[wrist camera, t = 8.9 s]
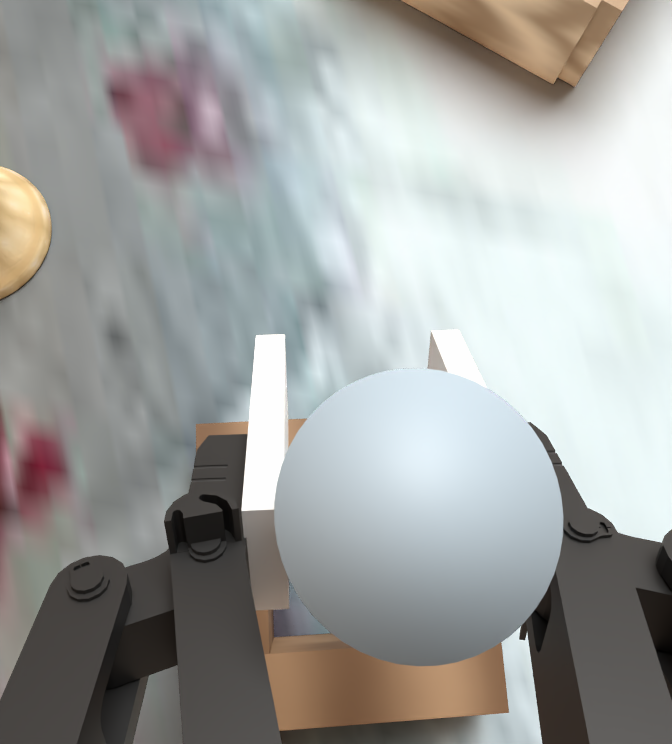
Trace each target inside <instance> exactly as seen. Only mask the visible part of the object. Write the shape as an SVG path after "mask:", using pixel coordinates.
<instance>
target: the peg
mask: <svg viewBox="0 0 672 744" xmlns="http://www.w3.org/2000/svg"><path fill="white" fill-rule="evenodd" d="M274 524H275V532H276V540H277V545H278V549H279V552H280V556H281V560H282V563H283V565H284V568H285V570H286V573H287V575H288V578H289V580H290V582H291V584H292V586H293V587H294V589H295V591H296V593H297V594H298V596H299V598H300V599H301V601H302V602H303V603H304V605H305V606H306V607H307V609H308V610H309V611H310V613H311V614H312V615H313V616H314V617H315V618H316V619H317V620H318V621H319V622H320V623H321V624H322V625H323V626H324V627H325V628H326V629H327V630H328V631H329V632H331V633H332V634H333V635H335V636H336V637H337V638H338V639H340V640H341V641H342V642H344V643H346V644H348V645H349V646H351V647H353V648H354V649H356V650H358V651H360V652H362V653H365V654H367V655H369V656H372V657H374V658H377V659H380V660H384V661H388V662H391V663H395V664H401V665H410V666H439V665H444V664H450V663H456V662H459V661H462V660H465V659H468V658H471V657H475V656H477V655H479V654H481V653H483V652H485V651H487V650H489V649H491V648H493V647H495V646H496V645H498V644H499V643H500V642H502V641H503V640H505V639H506V638H508V637H509V636H510V635H511V634H513V633H514V632H515V631H516V630H517V629H518V628H519V627H520V626H521V625H522V624H523V623H524V622H525V621H526V620H527V619H528V617H529V616H530V615H531V614H532V613H533V611H534V610H535V609H536V608H537V606H538V604H539V603H540V601H541V599H542V598H543V596H544V595H545V593H546V591H547V589H548V587H549V585H550V582H551V580H552V578H553V576H554V573H555V570H556V566H557V563H558V559H559V556H560V551H561V544H562V538H563V507H562V497H561V493H560V488H559V484H558V479H557V476H556V473H555V471H554V468H553V465H552V462H551V460H550V458H549V456H548V454H547V452H546V450H545V448H544V446H543V444H542V442H541V441H540V439H539V438H538V436H537V435H536V433H535V432H534V430H533V429H532V427H531V426H530V425H529V424H528V423H527V422H526V420H525V419H524V418H523V417H522V416H521V415H520V413H519V412H517V411H516V410H515V409H514V408H513V407H512V406H511V405H510V404H509V403H508V402H507V401H505V400H504V399H503V398H501V397H500V396H498V395H497V394H495V393H494V392H493V391H491V390H490V389H488V388H486V387H484V386H482V385H480V384H478V383H477V382H475V381H472V380H470V379H467V378H465V377H462V376H459V375H456V374H452V373H448V372H445V371H441V370H433V369H424V368H403V369H396V370H389V371H384V372H380V373H377V374H373V375H369V376H367V377H364V378H362V379H360V380H357V381H355V382H353V383H351V384H349V385H347V386H346V387H344V388H342V389H340V390H339V391H337V392H336V393H334V394H333V395H332V396H331V397H329V398H328V399H327V400H325V401H324V402H323V403H322V404H321V405H320V406H319V407H318V408H317V409H316V410H315V411H314V412H313V413H312V414H311V415H310V416H309V417H308V419H307V420H306V421H305V422H304V424H303V425H302V426H301V428H300V429H299V430H298V432H297V434H296V436H295V437H294V439H293V441H292V443H291V444H290V446H289V448H288V451H287V453H286V455H285V458H284V460H283V463H282V466H281V469H280V473H279V477H278V481H277V486H276V493H275V501H274Z"/></svg>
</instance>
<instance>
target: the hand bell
mask: <svg viewBox="0 0 672 744" xmlns="http://www.w3.org/2000/svg"><path fill="white" fill-rule="evenodd" d="M50 240H51V218H50V213H49V209H48V207H47V204H46V202H45V200H44V198H43V196H42V195H41V193H40V192H39V191H38V190H37V188H36V187H35V186H34V185H33V184H32V183H31V182H29V181H28V180H27V179H26V178H25V177H23V176H21V175H20V174H18V173H16V172H14V171H12V170H10V169H7V168H4V167H1V166H0V299H2V298H4V297H6V296H8V295H10V294H12V293H13V292H15V291H16V290H18V289H19V288H20V287H22V286H23V285H24V284H25V283H26V282H27V281H28V280H29V279H30V278H31V277H32V276H33V275H34V274H35V273H36V271H37V270H38V269H39V268H40V266H41V264H42V262H43V260H44V258H45V256H46V254H47V252H48V249H49V245H50Z"/></svg>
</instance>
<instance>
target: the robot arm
mask: <svg viewBox="0 0 672 744" xmlns="http://www.w3.org/2000/svg"><path fill="white" fill-rule="evenodd" d="M428 369H433V370H441V371H445V372H448V373H452V374H456V375H459V376H462V377H465V378H467V379H470V380H472V381H475V382H477V383H478V384H480V385H482V386H484V387H486V385H485V383H484V381H483V379H482V377H481V375H480V373H479V371H478V368H477V366H476V364H475V362H474V360H473V358H472V356H471V354H470V352H469V350H468V348H467V346H466V343H465V341H464V339H463V337H462V335H461V333H460V331H459V330H431V337H430V348H429V359H428ZM486 388H487V387H486ZM527 423H528V424H529V425H530V426H531V427H532V429H533V430H534V432H535V433H536V435H537V436H538V438H539V439H540V441H541V442H542V444H543V446H544V448H545V450H546V452H547V454H548V456H549V458H550V460H551V462H552V465H553V468H554V471H555V473H556V476H557V479H558V484H559V488H560V493H561V497H562V507H563V538H562V544H561V551H560V556H559V559H558V563H557V566H556V570H555V573H554V576H553V578H552V580H551V582H550V585H549V587H548V589H547V591H546V593H545V595H544V596H543V598H542V599H541V601H540V603H539V604H538V606H537V608H536V609H535V610H534V611H533V613H532V614H531V615H530V616H529V617H528V619H527V620H526V621H525V622H524V623H523V624H522V625H521V629H520V637H519V639H520V640H525V637H526V633H527V632H528V640H529V647H530V654H531V662H532V669H533V677H534V684H535V691H536V699H537V706H538V714H539V721H540V728H541V736H542V743H543V744H672V530H670V531H669V532H668V533H667V534H666V535H665V536H664V539H663V541H662V543H660V542H655V541H650V540H645V539H640V538H635V537H631V536H627V535H624V534H620V533H618V532H617V531H616V529H615V527H614V526H613V524H612V523H611V522H610V521H609V520H608V519H606V518H605V517H604V516H603V515H601V514H599V513H597V512H595V511H593V510H591V509H588V508H587V507H586V505H585V503H584V501H583V499H582V498H581V496H580V494H579V492H578V490H577V489H576V487H575V485H574V483H573V482H572V480H571V478H570V476H569V474H568V473H567V471H566V469H565V467H564V466H562V462H561V460H560V458H559V457H558V455H557V453H555V449H554V448H553V446H552V444H551V442H550V440H549V439H548V437H547V435H546V434H544V433H543V432H542V431H541V430H539V429H538V428H537V427H536V426H534V425H533V424H532V423H531V422H527ZM287 451H288V401H287V377H286V354H285V334H283V335H256V342H255V354H254V366H253V378H252V390H251V402H250V414H249V426H248V434H231V435H208V437H207V438H206V439H205V440H204V442H203V443H202V444H201V445H200V447H199V448H198V449H197V452H196V458H195V463H194V469H193V474H192V482H191V484H190V490H189V494H186V495H184V496H182V497H181V498H179V499H178V500H176V501H174V502H173V504H172V505H171V506H170V507H169V509H168V510H167V511H166V515H165V520H164V524H165V529H166V535H167V540H168V545H169V549H168V550H167V551H166V552H164V553H162V554H161V555H159V556H157V557H155V558H153V559H150V560H148V561H145V562H142V563H138V564H135V565H132V566H129V567H124V565H123V563H121V562H120V561H118V560H116V559H115V558H113V557H108V556H101V555H98V556H92V557H85V558H83V559H80V560H78V561H76V562H73V563H71V564H70V565H68V566H67V567H66V568H64V569H63V570H62V571H61V572H59V573H58V575H57V576H56V577H55V579H54V580H53V582H52V583H51V585H50V587H49V589H48V592H47V594H46V596H45V598H44V601H43V603H42V605H41V608H40V610H39V612H38V615H37V617H36V619H35V621H34V624H33V626H32V628H31V631H30V633H29V635H28V638H27V640H26V642H25V644H24V647H23V649H22V651H21V654H20V656H19V658H18V661H17V663H16V665H15V667H14V670H13V672H12V674H11V677H10V679H9V681H8V684H7V686H6V688H5V690H4V693H3V695H2V697H1V700H0V744H132V743H133V739H134V735H135V731H136V727H137V723H138V718H139V714H140V710H141V706H142V702H143V698H144V693H145V689H146V685H147V681H148V677H149V675H151V674H154V673H156V672H159V671H162V670H165V669H167V668H170V667H173V666H176V665H178V675H179V690H180V705H181V719H182V734H183V744H282V742H281V737H280V732H279V727H278V721H277V716H276V711H275V706H274V701H273V696H272V691H271V686H270V681H269V676H268V670H267V665H266V660H265V655H264V650H263V645H262V640H261V635H260V630H259V625H258V619H257V614H256V610H274V609H289V578H288V575H287V573H286V570H285V568H284V565H283V563H282V560H281V556H280V552H279V549H278V545H277V540H276V532H275V524H274V501H275V493H276V486H277V481H278V477H279V473H280V469H281V466H282V463H283V460H284V458H285V455H286V453H287Z"/></svg>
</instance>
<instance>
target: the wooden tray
mask: <svg viewBox="0 0 672 744" xmlns="http://www.w3.org/2000/svg"><path fill="white" fill-rule="evenodd" d="M401 1H403V2H405V3H407V4H409V5H410V6H412V7H414V8H416V9H418V10H419V11H421V12H423V13H425V14H427V15H428V16H430V17H432V18H434V19H436V20H437V21H439V22H441V23H443V24H445V25H446V26H448V27H450V28H452V29H454V30H455V31H457V32H459V33H461V34H463V35H464V36H466V37H468V38H470V39H472V40H473V41H475V42H477V43H479V44H481V45H483V46H484V47H486V48H488V49H490V50H492V51H493V52H495V53H497V54H499V55H501V56H502V57H504V58H506V59H508V60H510V61H511V62H513V63H515V64H517V65H519V66H520V67H522V68H524V69H526V70H528V71H529V72H531V73H533V74H535V75H537V76H538V77H540V78H542V79H544V80H546V81H547V82H549V83H551V84H554V82H555V81H556V79H557V78H559V79H561V80H563V81H565V82H567V83H568V84H570V85H572V86H574V87H575V86H576V84H577V83H578V81H579V80H580V78H581V76H582V75H583V73H584V72H585V70H586V68H587V67H588V65H589V64H590V62H591V60H592V59H593V57H594V56H595V54H596V52H597V51H598V49H599V48H600V46H601V44H602V43H603V41H604V40H605V38H606V36H607V35H608V33H609V32H610V30H611V28H612V27H613V25H614V24H615V22H616V20H617V19H618V17H619V16H620V14H621V12H622V11H623V9H624V7H625V6H626V4H627V3H628V1H629V0H401Z"/></svg>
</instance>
